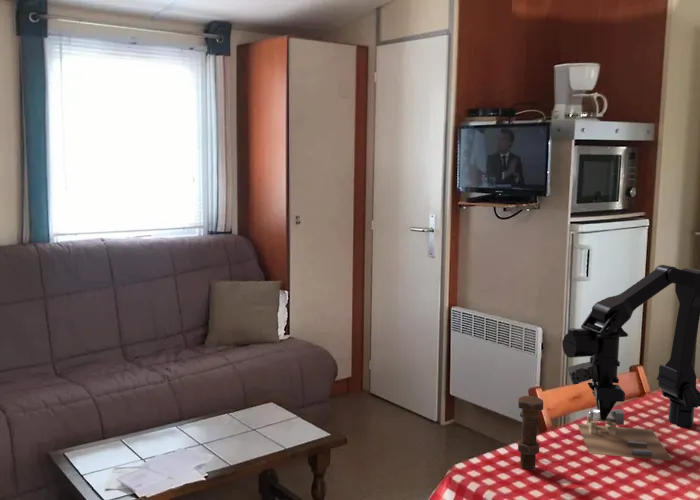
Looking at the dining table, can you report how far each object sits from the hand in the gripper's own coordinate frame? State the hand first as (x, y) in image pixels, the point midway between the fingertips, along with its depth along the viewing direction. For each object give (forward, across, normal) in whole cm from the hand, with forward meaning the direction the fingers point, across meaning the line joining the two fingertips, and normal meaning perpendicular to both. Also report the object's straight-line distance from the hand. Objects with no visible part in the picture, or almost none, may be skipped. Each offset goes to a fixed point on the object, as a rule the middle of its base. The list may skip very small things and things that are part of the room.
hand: (601, 417), depth 170 cm
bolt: (+4, +23, -19) cm, 30 cm away
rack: (+3, 0, 0) cm, 3 cm away
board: (+4, +6, +4) cm, 8 cm away
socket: (+3, +11, +6) cm, 13 cm away
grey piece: (+1, 0, +1) cm, 1 cm away
